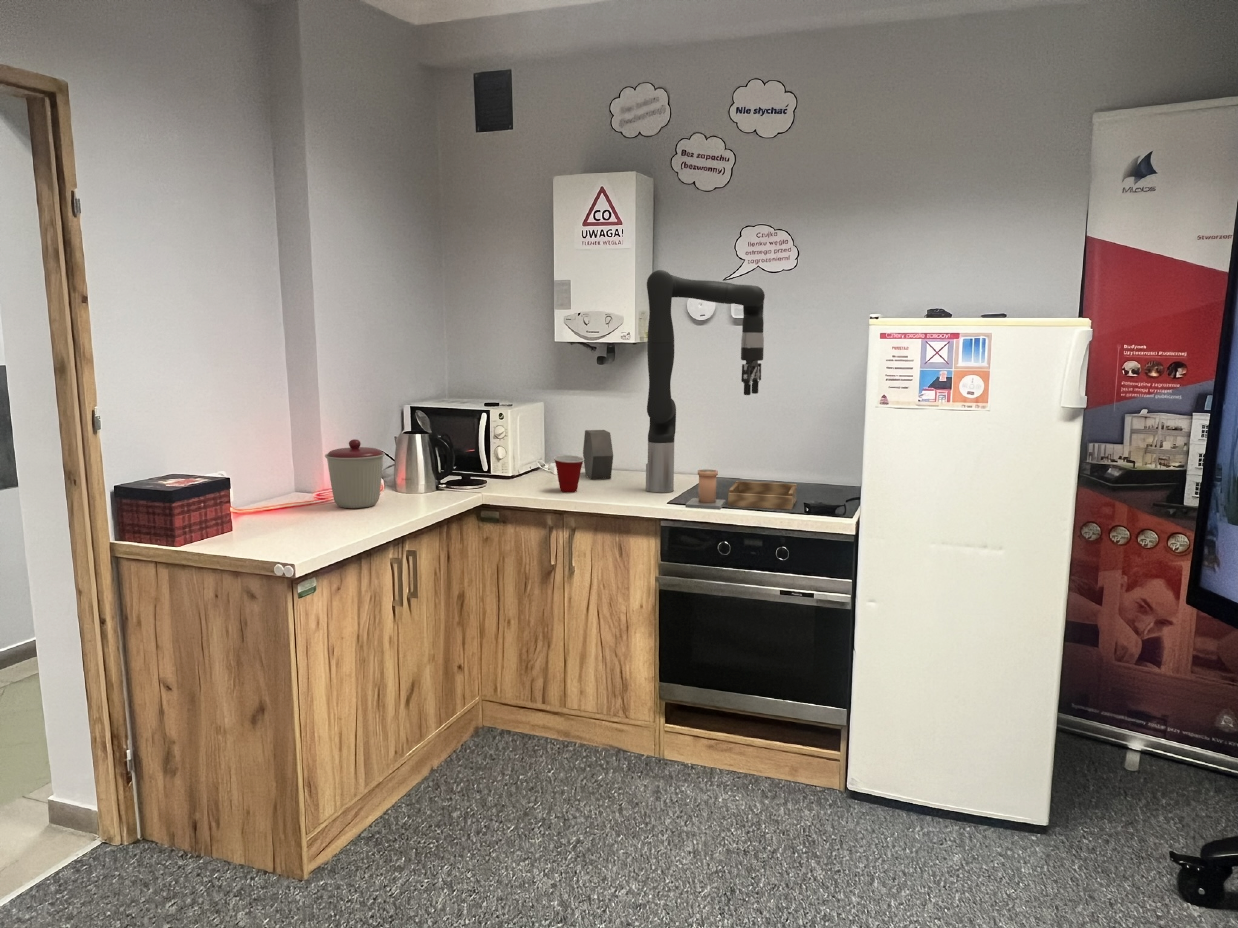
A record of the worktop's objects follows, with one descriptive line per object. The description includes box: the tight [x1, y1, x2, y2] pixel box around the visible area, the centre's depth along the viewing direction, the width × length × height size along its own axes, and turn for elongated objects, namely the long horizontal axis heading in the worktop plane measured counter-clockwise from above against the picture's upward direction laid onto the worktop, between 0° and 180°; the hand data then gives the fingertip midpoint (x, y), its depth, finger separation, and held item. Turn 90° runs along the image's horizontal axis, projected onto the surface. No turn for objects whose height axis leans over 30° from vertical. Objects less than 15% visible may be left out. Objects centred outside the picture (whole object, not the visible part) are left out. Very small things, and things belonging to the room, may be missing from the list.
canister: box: [324, 438, 386, 509], centre depth 274 cm, size 18×18×21 cm
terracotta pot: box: [697, 468, 719, 503], centre depth 280 cm, size 6×6×10 cm
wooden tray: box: [727, 480, 797, 510], centre depth 283 cm, size 20×16×6 cm
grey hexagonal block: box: [582, 429, 614, 480], centre depth 333 cm, size 17×8×21 cm
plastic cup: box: [553, 454, 585, 493], centre depth 302 cm, size 11×11×12 cm
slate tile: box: [685, 497, 727, 510], centre depth 280 cm, size 11×11×1 cm
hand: (751, 394), depth 297 cm, fingers open, 8 cm apart
